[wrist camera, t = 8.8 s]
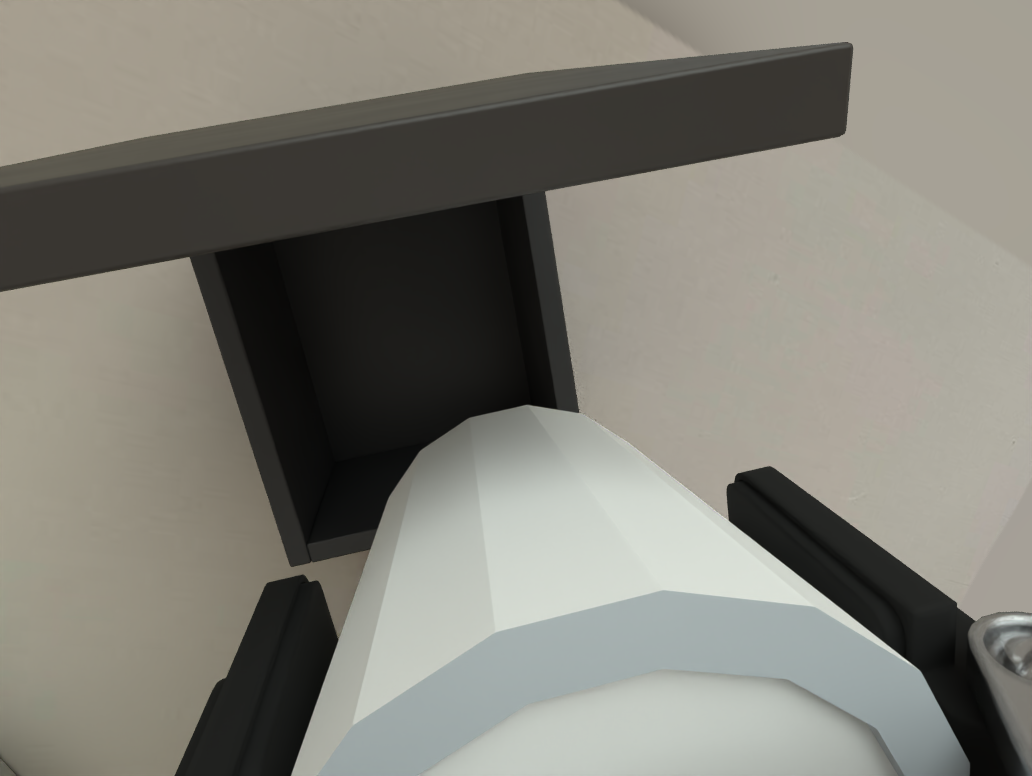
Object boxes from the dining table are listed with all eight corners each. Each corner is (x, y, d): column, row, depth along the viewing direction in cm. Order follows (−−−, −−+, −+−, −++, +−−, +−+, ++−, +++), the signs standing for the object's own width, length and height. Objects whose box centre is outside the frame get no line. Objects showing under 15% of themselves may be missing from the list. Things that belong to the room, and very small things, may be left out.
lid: (847, 135, 6) (855, 40, 6) (-520, 390, 5) (-620, 291, 5) (533, 101, 20) (529, 72, 19) (153, 166, 19) (142, 137, 18)
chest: (549, 424, 32) (592, 498, 24) (325, 473, 31) (289, 568, 23) (498, 125, 28) (529, 89, 20) (237, 171, 27) (154, 153, 19)
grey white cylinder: (422, 316, 11) (418, 484, 4) (749, 444, 12) (1122, 713, 6) (297, 639, 12) (142, 1150, 6) (605, 717, 14) (771, 1191, 7)
